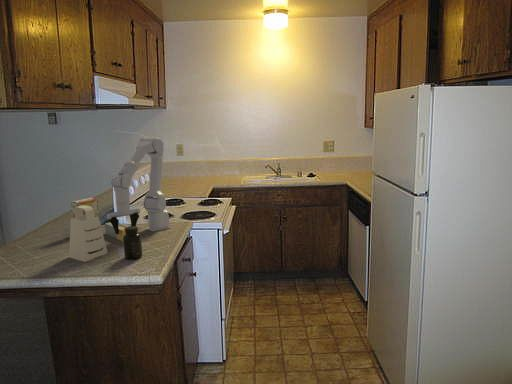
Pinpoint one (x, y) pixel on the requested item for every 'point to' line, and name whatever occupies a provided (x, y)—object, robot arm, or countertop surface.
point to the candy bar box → (86, 202)
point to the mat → (120, 240)
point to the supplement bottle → (132, 243)
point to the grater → (86, 235)
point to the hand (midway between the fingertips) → (125, 232)
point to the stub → (121, 233)
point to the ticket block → (111, 229)
